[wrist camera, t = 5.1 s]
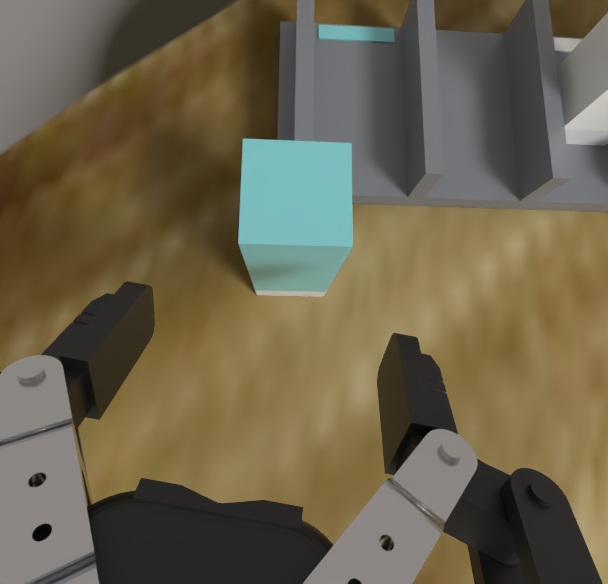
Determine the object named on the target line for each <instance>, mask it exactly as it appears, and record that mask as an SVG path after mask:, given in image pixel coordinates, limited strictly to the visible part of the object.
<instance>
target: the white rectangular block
mask: <svg viewBox="0 0 608 584" xmlns="http://www.w3.org/2000/svg"><path fill="white" fill-rule="evenodd" d="M557 71H558V79H559V87H560V95H561V103H562V111H563V119H564V126H565V134H566V142H567V144H578V145H602V146H605V145H607V144H608V12H607V13H606V15H605V16H604V17H603V18H602V19H601V20H600V21H599V22H598V23H597V24H596V25H595V27H594V28H593V29H592V30H591V31H590V32H589V33H588V34H587V35H586V36H585V37H584V39H583V40H582V41H581V42H580V43H579V44H578V45H577V46H576V47H575V48H574V49H573V51H572V52H571V53H570V54H569V55H568V56H567V57H566V58H565V59H564V60H563V61H562V63H561V64H560V65H559V66H558V67H557Z"/></svg>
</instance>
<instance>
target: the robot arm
mask: <svg viewBox="0 0 608 584" xmlns="http://www.w3.org/2000/svg"><path fill="white" fill-rule="evenodd" d="M154 325H155V320H154V303H153V290H152V287H151V286H149V285H144V284H138V283H133V282H125V283H124V284H123V285H122V286H121V287H120V288H119V289H118V290H117V292H116V293H115V294H114V295H113V294H108V293H107V294H105V295H103V296H101V297H99V298H97V299H95V300H93V301H92V302H91V303H90V304H89V305H88V306H87V307H86V308H85V309H84V310H83V311H82V313H81V314H79V315H78V316H77V317H76V318H75V320H74V321H73V323H71V324H70V325H69V326H68V327H67V328H66V329H65V330H64V331H63V332H62V333H61V334H60V335H59V336H58V337H57V338H56V340H55V341H54V342H53V343H52V344H51V345H50V346H49V347H48V348H47V349H46V350H45V351H44V352H43V353H42V354H41V355H35V356H29V357H26V358H23V359H20V360H18V361H16V362H14V363H12V364H11V365H9V366H8V367H6V368H5V369H4V370H3V371H2V372H0V584H412V583H413V581H414V579H415V578H416V576H417V574H418V573H419V571H420V569H421V567H422V566H423V564H424V562H425V560H426V559H427V557H428V555H429V554H430V552H431V550H432V548H433V547H434V545H435V543H436V542H437V540H438V538H439V536H440V535H441V533H442V531H443V532H445V533H447V534H449V535H451V536H452V537H454V538H456V539H458V540H460V541H462V542H464V543H466V544H467V545H468V550H469V555H470V561H471V566H472V572H473V577H474V583H475V584H602V581H601V579H600V576H599V574H598V572H597V569H596V567H595V565H594V562H593V560H592V557H591V555H590V553H589V550H588V548H587V545H586V543H585V541H584V538H583V536H582V533H581V531H580V529H579V526H578V524H577V521H576V519H575V517H574V514H573V512H572V509H571V507H570V505H569V502H568V500H567V498H566V496H565V495H564V493H563V492H562V490H561V489H560V488H559V487H558V486H557V485H556V484H555V483H554V482H553V481H552V480H551V479H550V478H548V477H547V476H545V475H544V474H542V473H540V472H538V471H536V470H533V469H529V468H520V469H517V470H515V471H514V472H513V473H512V474H511V476H510V475H508V474H506V473H504V472H502V471H500V470H498V469H496V468H494V467H491V466H489V465H487V464H485V463H483V462H482V461H480V460H479V459H477V457H476V454H475V452H474V450H473V449H472V447H471V446H470V445H469V443H468V442H467V441H466V440H465V439H463V438H462V437H461V436H459V435H458V433H457V429H456V425H455V422H454V418H453V415H452V411H451V407H450V404H449V400H448V397H447V394H446V389H445V386H444V383H443V379H442V375H441V371H440V368H439V367H438V365H437V364H436V363H435V361H434V360H433V359H432V357H431V356H430V355H426V354H421V351H420V346H419V342H418V339H417V337H413V336H408V335H403V334H398V333H393V334H392V336H391V338H390V341H389V343H388V346H387V349H386V351H385V354H384V356H383V359H382V361H381V364H380V367H379V371H378V378H377V387H378V398H379V409H380V421H381V432H382V444H383V455H384V467H385V473H386V474H391V475H394V476H393V477H392V478H391V479H390V478H389V479H388V480H387V481H386V482H385V483H384V484H383V485H382V486H381V487H380V489H379V490H378V491H377V492H376V494H375V495H374V496H373V497H372V499H371V500H370V501H369V502H368V504H367V505H366V506H365V507H364V508H363V510H362V511H361V512H360V513H359V515H358V516H357V517H356V518H355V520H354V521H353V522H352V523H351V525H350V526H349V527H348V528H347V529H346V531H345V532H344V533H343V534H342V536H341V537H340V538H339V539H338V541H337V542H336V543H335V544H334V545H333V544H332V543H331V542H330V541H329V539H328V538H327V537H326V536H325V535H324V534H322V533H321V532H320V531H319V530H318V529H316V528H315V527H313V526H312V525H310V524H309V523H307V522H305V521H303V520H302V512H303V507H299V506H293V505H288V504H282V503H277V502H271V501H266V500H259V501H247V502H235V503H217V502H215V501H213V500H211V499H209V498H207V497H204V496H202V495H200V494H198V493H196V492H194V491H192V490H190V489H188V488H186V487H184V486H182V485H177V484H172V483H166V482H161V481H155V480H150V479H144V478H141V480H140V482H139V484H138V487H137V489H136V491H129V492H124V493H119V494H116V495H113V496H110V497H107V498H105V499H102V500H100V501H98V502H96V503H94V504H93V499H92V495H91V490H90V485H89V480H88V475H87V470H86V465H85V459H84V454H83V449H82V443H81V438H80V433H79V429H78V427H79V425H80V424H81V422H82V421H83V420H84V418H85V417H87V418H93V419H98V420H100V418H101V416H102V415H103V413H104V412H105V410H106V409H107V407H108V406H109V404H110V402H111V401H112V399H113V398H114V396H115V395H116V393H117V391H118V390H119V388H120V387H121V385H122V384H123V382H124V380H125V379H126V377H127V376H128V374H129V373H130V371H131V369H132V368H133V366H134V365H135V363H136V362H137V360H138V359H139V357H140V355H141V354H142V352H143V351H144V349H145V348H146V346H147V344H148V343H149V341H150V339H151V337H152V335H153V331H154Z"/></svg>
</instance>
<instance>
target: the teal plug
mask: <svg viewBox="0 0 608 584" xmlns="http://www.w3.org/2000/svg"><path fill="white" fill-rule="evenodd" d="M238 244H239V247H240V250H241V253H242V255H243V258H244V261H245V264H246V266H247V269H248V272H249V275H250V277H251V280H252V283H253V286H254V289H255V291H256V294H257V295H274V296H322V297H324V295H325V293H326V292H327V290H328V288H329V286H330V285H331V283H332V281H333V280H334V278H335V276H336V275H337V273H338V271H339V269H340V268H341V266H342V264H343V263H344V261H345V259H346V258H347V256H348V254H349V252H350V251H351V249H352V247H353V215H352V143H339V142H315V141H291V140H266V139H243V149H242V171H241V193H240V216H239V238H238Z"/></svg>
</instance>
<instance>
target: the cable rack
mask: <svg viewBox="0 0 608 584" xmlns="http://www.w3.org/2000/svg"><path fill="white" fill-rule="evenodd" d="M583 39H584V38H574V37H556V36H553V31H552V23H551V15H550V7H549V0H526V1H525V2H524V4H523V5H522V7H521V8H520V10H519V11H518V13H517V14H516V16H515V17H514V19H513V20H512V22H511V23H510V25H509V26H508V28H507V29H506V31H505V32H504V34H502V33H484V32H466V31H448V30H436V29H435V12H434V0H411V1H410V4H409V7H408V10H407V12H406V15H405V18H404V21H403V24H402V27H401V28H395V27H377V26H359V25H341V24H323V23H314V0H296V22H287V21H280V55H279V92H278V130H277V140H291V141H315V142H339V143H352V204H379V205H410V206H440V207H471V208H501V209H532V210H562V211H593V212H608V144H607V145H605V146H602V145H578V144H567V142H566V134H565V126H564V119H563V111H562V103H561V95H560V87H559V79H558V71H557V67H558V66H559V65H560V64H561V63H562V61H563V60H564V59H565V58H566V57H567V56H568V55H569V54H570V53H571V52H572V51H573V49H574V48H575V47H576V46H577V45H578V44H579V43H580V42H581V41H582V40H583Z"/></svg>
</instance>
